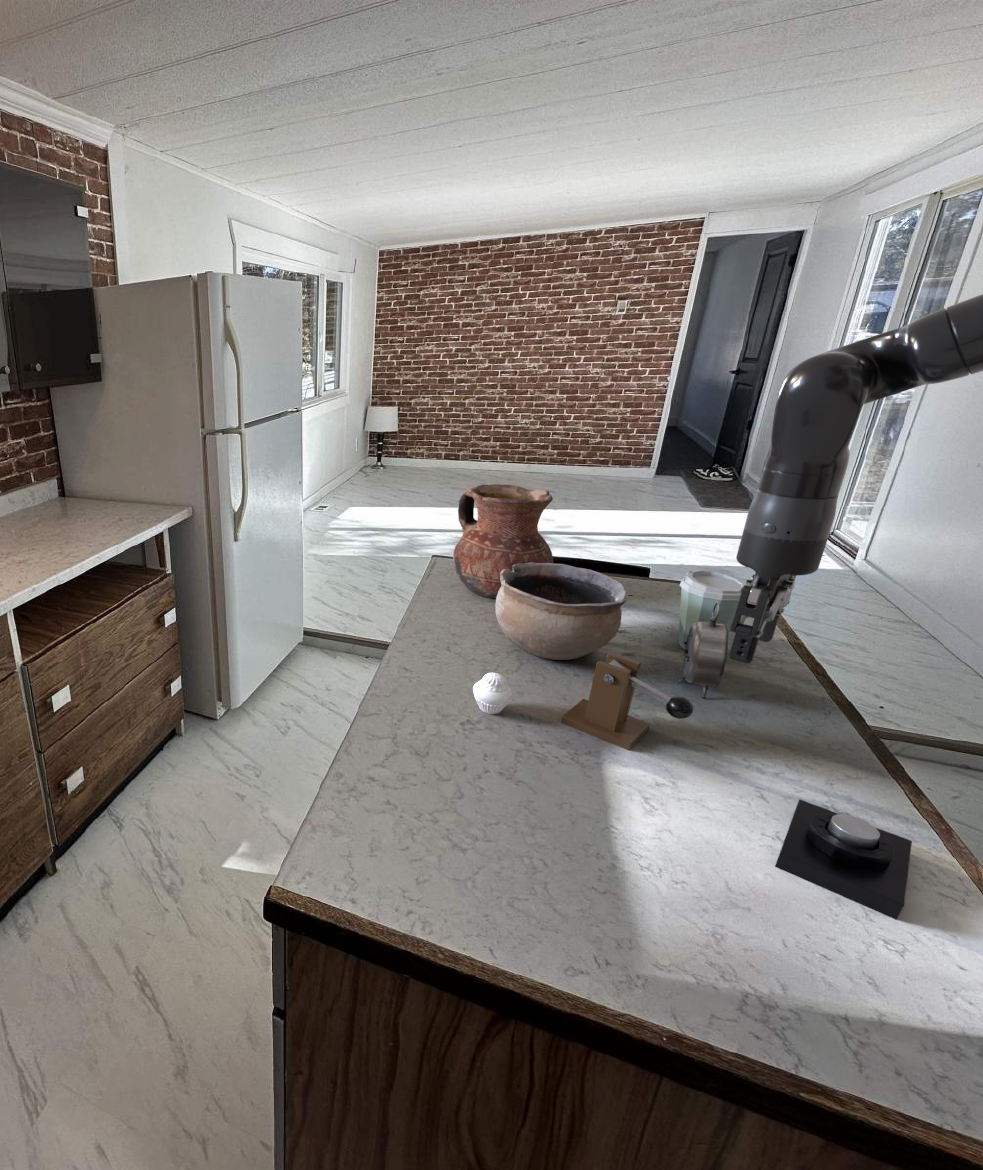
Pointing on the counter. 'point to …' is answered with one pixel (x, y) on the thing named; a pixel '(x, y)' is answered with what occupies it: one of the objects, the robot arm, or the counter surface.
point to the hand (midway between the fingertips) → (750, 649)
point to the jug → (498, 534)
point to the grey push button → (853, 831)
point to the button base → (846, 861)
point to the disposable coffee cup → (707, 599)
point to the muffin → (492, 693)
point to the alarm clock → (706, 653)
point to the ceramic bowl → (558, 609)
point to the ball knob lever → (660, 696)
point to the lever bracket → (609, 705)
